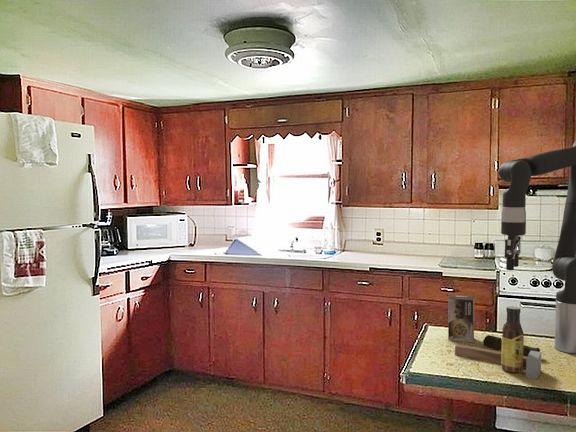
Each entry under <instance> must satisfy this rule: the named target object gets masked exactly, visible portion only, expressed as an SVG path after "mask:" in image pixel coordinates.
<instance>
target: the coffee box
mask: <svg viewBox="0 0 576 432" xmlns="http://www.w3.org/2000/svg"><path fill="white" fill-rule="evenodd" d="M447 301H448V303H447V306H448V307H447V308H448V309H447V310H448V312H447V313H448V316H447V317H448V318H447V322H448V324H447V327H448V328H447V329H448V331H447V340H448V341H456V342H457V341H458V342H466V343H474V341H475V296H471V295H470V296H469V295H460V294H459V295H457V294H456V295H455V294H450V295H449V296H448V299H447Z"/></svg>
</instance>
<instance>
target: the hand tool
mask: <svg viewBox="0 0 576 432" xmlns="http://www.w3.org/2000/svg"><path fill="white" fill-rule="evenodd" d="M482 343H483V344H482V345H483V346H484V347H485V348H487V349H490V350H493V351H501V350H502V337H499V336H495V335H490V334H487V335H486V336H484V339H483V341H482ZM530 351H537V352H541V349H540V348H539V347H532V346H529V345H525V344H524V345H523V356H528V355H529V353H530Z"/></svg>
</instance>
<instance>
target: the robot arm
mask: <svg viewBox="0 0 576 432" xmlns="http://www.w3.org/2000/svg"><path fill="white" fill-rule="evenodd" d="M566 168H569V179H568V186H567V193H566V198H565V204H564V210H563V214H562V215H563V217H562V223H561V229H560V233H559V238H558V242H557V246H556V249H555V253H554V256H553V260H552V265H551V271H552V274H553V276H554V277H555V278H556V279H558V280H560V281H563V282H564V288H563V290H559V291H557V292H556V293H555V294H556V295H555V326H554V328H555V329H554V333H555V334H554V348H555V349H556V350H557V351H559V352H562V353H568V354H576V140H575V141H574V143H573V144H572V146H571V147H566V148H561V149H555V150H549V151H545V152H541V153H537V154H534V155H530V156H527V157H523V158H518V159H517V158H516V159H512V160H509V161H508V160H507V161H506V162H503V163H502V164H501V165H500V167H499V168H498V176H499V178H500V179H501V181H504V182H506V183H510V185H509V188H507V189H506V190H504V191H503V193H502V206H501V207H502V208H501V221H500V222H501V223H500V225H501V227H500V233H501V235H504V236H507V239H505V240H504V255H503V256H504V258H505V260H506V266H505V267H506V268H505V269H506V270H507V271H512V272H513V271H514V269H515V268H517V267H519V266H520V265H519V261H520V259H519V256H520V255H521V249H522V248H521V246H522V245H521V243H522V242H521V239H522V236H525V235H526V233H527V209H526V205H527V204H526V203H527V200H526V199H527V197H526V195H527V192H528V189H529V186H530V182H531V179H532V177H536V176H537V177H538V176H541V175H544V174H549V173H552V172H555V171H558V170H562V169H566Z"/></svg>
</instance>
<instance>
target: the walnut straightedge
mask: <svg viewBox="0 0 576 432" xmlns="http://www.w3.org/2000/svg"><path fill="white" fill-rule="evenodd" d="M454 355H455V356H461V357H465V358H472V359H477V360H481V361H487V362H491V363H495V364H497V363H498V364H502V363H501V351H500V350H494V349H488V348H487V349H486V348H481V347H475V346H470V345H464V344H459V343H457V344H456V345H455V346H454ZM526 361H527V356H523V367H522V369H523V368H524V369H526Z"/></svg>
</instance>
